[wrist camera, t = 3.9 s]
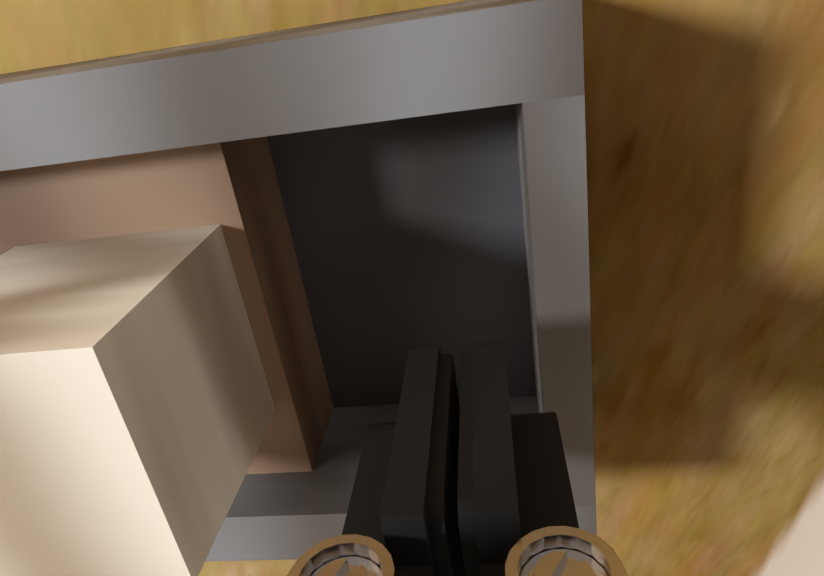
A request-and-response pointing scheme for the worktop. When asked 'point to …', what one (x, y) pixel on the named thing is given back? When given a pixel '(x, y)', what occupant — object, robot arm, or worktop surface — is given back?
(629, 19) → the worktop surface
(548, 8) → the tray
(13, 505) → the block
